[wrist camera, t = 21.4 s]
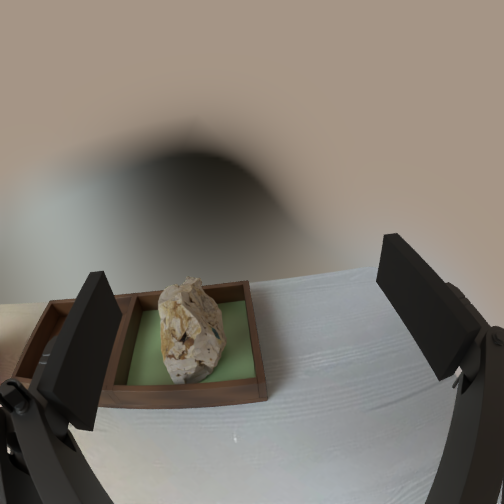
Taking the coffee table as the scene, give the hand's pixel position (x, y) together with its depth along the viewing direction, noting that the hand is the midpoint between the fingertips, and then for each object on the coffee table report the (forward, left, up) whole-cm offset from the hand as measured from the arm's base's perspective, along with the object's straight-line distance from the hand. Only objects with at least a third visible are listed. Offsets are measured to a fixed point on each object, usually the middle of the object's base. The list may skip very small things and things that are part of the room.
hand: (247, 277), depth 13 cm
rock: (+4, -14, -19) cm, 24 cm away
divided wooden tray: (+13, -16, -20) cm, 29 cm away
